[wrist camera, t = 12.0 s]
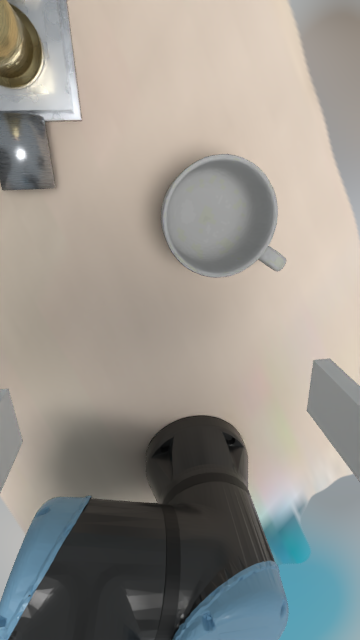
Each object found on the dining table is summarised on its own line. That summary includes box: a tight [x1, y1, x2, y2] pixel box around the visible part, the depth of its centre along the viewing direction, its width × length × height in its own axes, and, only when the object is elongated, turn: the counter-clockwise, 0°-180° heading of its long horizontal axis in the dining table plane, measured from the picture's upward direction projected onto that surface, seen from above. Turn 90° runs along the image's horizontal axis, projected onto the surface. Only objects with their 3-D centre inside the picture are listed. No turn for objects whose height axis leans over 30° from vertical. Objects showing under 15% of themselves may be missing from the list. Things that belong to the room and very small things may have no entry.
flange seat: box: [0, 0, 82, 190], centre depth 29 cm, size 17×11×5 cm, turn 2°
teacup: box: [161, 154, 286, 278], centre depth 35 cm, size 14×11×8 cm
